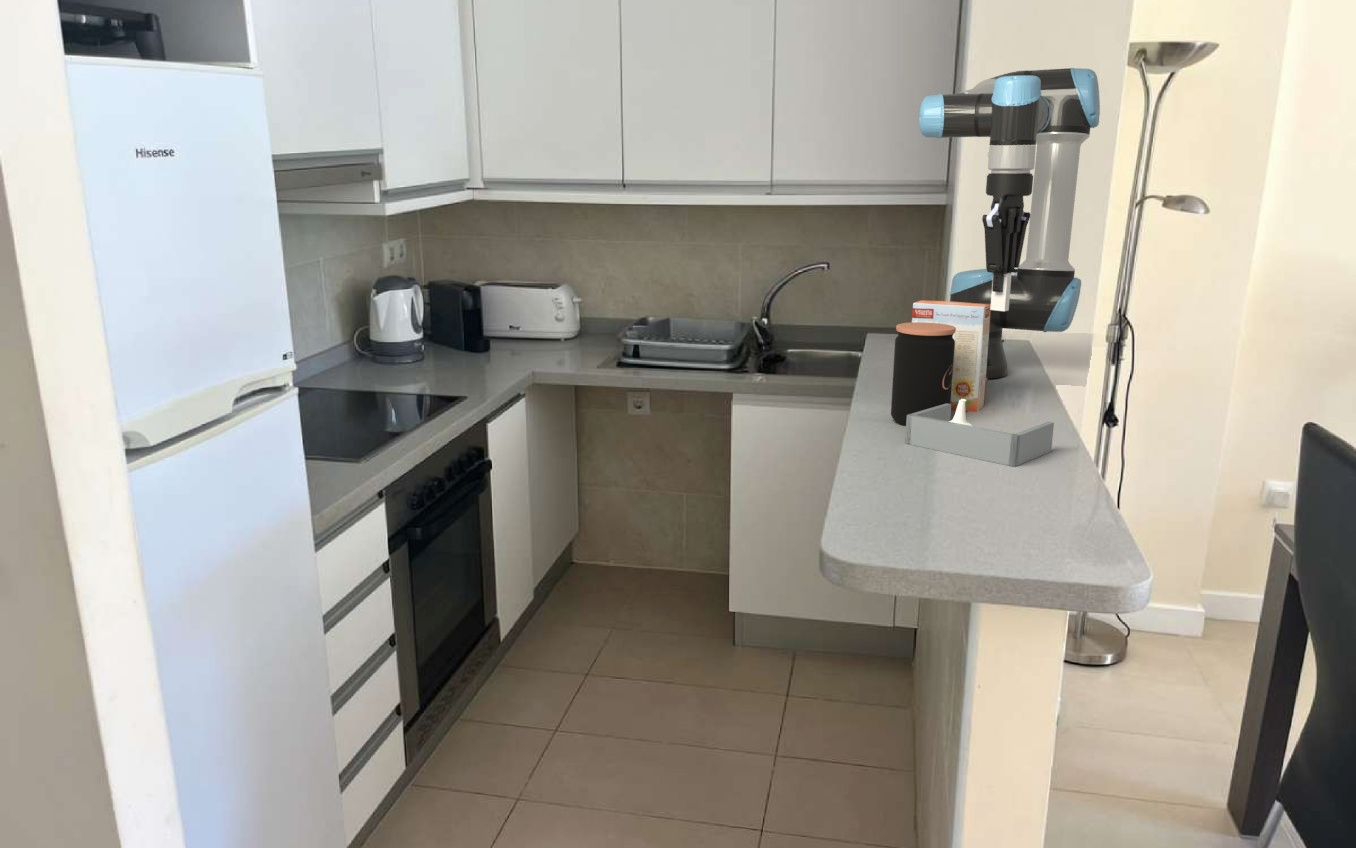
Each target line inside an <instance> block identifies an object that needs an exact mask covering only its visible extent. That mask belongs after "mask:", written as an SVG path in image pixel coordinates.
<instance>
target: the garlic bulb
mask: <svg viewBox="0 0 1356 848" xmlns="http://www.w3.org/2000/svg"><path fill="white" fill-rule="evenodd" d="M965 401H966V400H965V399H961V400H959V403H958V406H957V409H956V410H955V414H954V416H953V418H952V419H950V421H949V422H954V423H959V424H964V425H970V426H974V425H973V424H971V423H970V422H968V421H967V415H966V411H965Z"/></svg>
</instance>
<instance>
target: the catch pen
mask: <svg viewBox="0 0 1356 848" xmlns="http://www.w3.org/2000/svg"><path fill="white" fill-rule="evenodd" d="M951 412H952V409H951V404H947V403H946V404H943V405H939V406H936V407H932V408H929V409H926V410H922V411H919V412H915V413H912V414H909V415H907V421H906V426H905V437H904V438H905V439H904V440H905V441H904V444H906V445H911V446H916V447H919V448H925V449H930V450H934V451H940V452H943V453H948V454H953V455H957V456H963V457H967V458H972V459H977V460H980V461H986V462H991V463H995V464H1000V465H1004V466H1009V467H1015V468H1016V467H1017V466H1020V465H1022V464H1025V463H1027V462H1030V461H1032V460H1035V459H1037V458H1039V457H1041V456H1044V455H1047V454H1049V453H1052V447H1053V438H1054V437H1053V436H1054V429H1055V422H1053V421H1047V422H1043V423H1040V424H1038V425H1035V426H1032V427H1030V428H1027V429H1025V430H1021V431H1018V432H1017V433H1012V432H1011V433H1010V432H1005V431H1000V430H996V429H990V428H984V427H980V426H974V425H973V426H970V425H964V424H959V423H954V422H949V421H951V415H952V413H951Z"/></svg>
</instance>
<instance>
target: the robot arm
mask: <svg viewBox="0 0 1356 848" xmlns="http://www.w3.org/2000/svg"><path fill="white" fill-rule="evenodd" d="M1099 87H1100V86H1099V81H1098V76H1097V73H1096V72H1095V71H1094V70H1092V69H1090V68H1078V67H1077V68H1075V67H1070V68H1069V67H1068V68H1054V69H1053V68H1051V69H1036V70H1017V71H1012V72H1011V71H1010V72H1007V73H1004V74H1000V75H997V76H994V77H991V78H987V79H984V80H982V81H980V82H978V83H977V84H976V85H975V86H974V87H973V88H970V89H967V90H964V91H959V92H956V93H952V94H951V93H949V94H941V93H939V94H935V95H934V94H933V95H927V96H925V97H924V98H923V99H922V102H921V104H920V107H919V108H920V109H919V112H918V113H919V115H918V116H919V117H918V123H919V131H920V133H921V135H922V136H923V137H925V138H937V139H942V138H943V139H946V138H989V147H988V152H987V157H988V161H987V169H988V170H990V172H991V173H988V174H987V175H986V183H985V193H986V195H987V196H991V197H992V202H991V205H990V213H988V214H983V215H982V217H981V218H982V220H981V221H982V225H983V229H984V243H985V244H984V246H985V249H984V250H985V268H981V269H980V268H979V269H972V270H964V271H960V272H957V273H956V274H955V275H953V277H952V280H951V288H950V292H949V296H950V297H949V301H950V302H965V303H979V304H991V307H990V310H991V312H990V327H989V341H988V354H987V368H986V378H988V379H996V378H999V379H1000V378H1003V377H1005V376H1007V375H1008V368H1009V367H1008V360H1007V358H1006V353H1005V349H1004V346H1003V345H1004V344H1003V341H1002V338H1003V329H1007V330H1019V331H1020V330H1021V331H1033V332H1034V331H1035V332H1043V333H1047V332H1048V333H1049V332H1053V333H1060V332H1065V331H1066V330H1068V329H1069V328H1070V326H1071V325H1072V322H1073V320H1074V317H1075V314H1076V311H1077V308H1078V303H1079V299H1080V295H1081V287H1082V280H1081V279H1080V278H1078V277H1075V273H1076V269H1075V267H1074V266H1073V265H1072V264H1071V263H1070V262H1069V259H1070V249H1071V248H1070V247H1071V239H1072V230H1073V220H1074V209H1075V201H1076V191H1077V181H1078V174H1079V165H1080V164H1079V162H1080V153H1081V147H1082V144H1083V143H1084V142H1085V141H1087V140H1088V139H1089V138H1090V135H1091V133H1090V132H1091V129H1095V128H1096V127H1098V126H1099V123H1100V116H1101V115H1100V114H1101V112H1100V111H1101V105H1100V103H1101V101H1100V100H1101V99H1100V89H1099ZM1033 170H1034V174H1033V173H1031V171H1033ZM1029 196H1031V205H1030V212H1029V211H1027V212H1025V210H1024V209H1025V208H1024V207H1025V203H1024V197H1029ZM1027 226H1028V227H1027ZM1027 228H1028V234H1027V245H1026V253H1025V254H1026V256H1025V259H1024V261H1023V262H1022V263H1021V257H1022V253H1023V248H1024V242H1025V237H1026V232H1027ZM1013 273H1015V274H1016V275H1012V274H1013Z"/></svg>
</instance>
